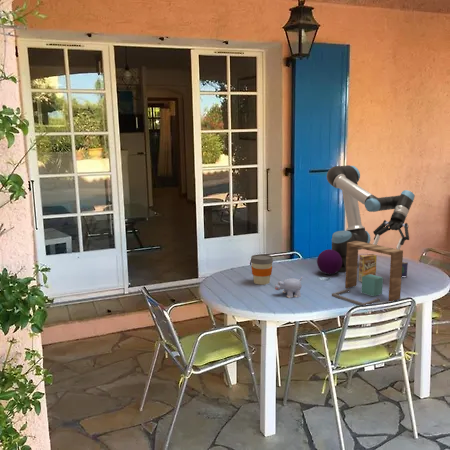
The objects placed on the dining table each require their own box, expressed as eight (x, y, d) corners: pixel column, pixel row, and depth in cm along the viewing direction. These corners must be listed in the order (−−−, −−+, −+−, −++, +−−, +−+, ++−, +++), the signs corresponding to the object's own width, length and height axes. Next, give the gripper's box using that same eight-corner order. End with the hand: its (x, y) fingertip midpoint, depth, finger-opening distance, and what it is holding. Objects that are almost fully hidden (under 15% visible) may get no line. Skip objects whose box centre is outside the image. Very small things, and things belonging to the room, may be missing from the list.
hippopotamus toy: (272, 292, 265) (272, 275, 263) (299, 290, 267) (299, 273, 266) (277, 298, 255) (278, 281, 253) (305, 296, 257) (306, 279, 255)
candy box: (362, 282, 280) (363, 256, 277) (358, 280, 284) (359, 254, 281) (375, 281, 282) (377, 255, 280) (371, 279, 286) (372, 253, 284)
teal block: (361, 292, 263) (362, 276, 261) (369, 290, 267) (370, 274, 265) (373, 296, 257) (374, 280, 255) (382, 293, 261) (382, 277, 259)
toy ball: (342, 271, 303) (343, 247, 300) (341, 278, 289) (342, 253, 286) (317, 269, 307) (318, 246, 304) (315, 276, 292) (316, 252, 289)
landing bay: (331, 295, 258) (331, 293, 258) (347, 290, 266) (347, 288, 266) (363, 306, 242) (363, 304, 242) (380, 300, 250) (380, 298, 250)
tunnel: (345, 287, 271) (346, 242, 266) (354, 285, 276) (356, 240, 271) (390, 301, 248) (393, 252, 243) (400, 298, 253) (403, 250, 248)
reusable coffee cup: (271, 286, 275) (271, 260, 272) (249, 284, 277) (249, 259, 275) (273, 279, 287) (274, 254, 284) (252, 278, 289) (252, 253, 287)
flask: (406, 276, 291) (407, 258, 289) (407, 277, 288) (408, 260, 286) (390, 276, 292) (391, 258, 290) (391, 277, 289) (392, 260, 287)
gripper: (376, 209, 280) (362, 240, 274) (419, 214, 263) (405, 247, 256) (380, 216, 285) (367, 247, 278) (423, 221, 268) (409, 254, 261)
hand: (385, 247), depth 267 cm, fingers open, 13 cm apart
